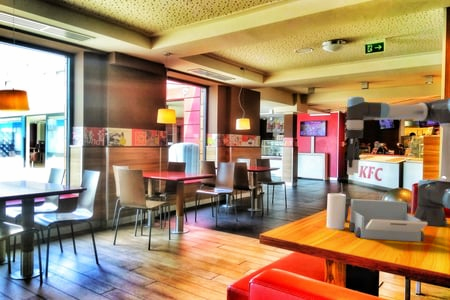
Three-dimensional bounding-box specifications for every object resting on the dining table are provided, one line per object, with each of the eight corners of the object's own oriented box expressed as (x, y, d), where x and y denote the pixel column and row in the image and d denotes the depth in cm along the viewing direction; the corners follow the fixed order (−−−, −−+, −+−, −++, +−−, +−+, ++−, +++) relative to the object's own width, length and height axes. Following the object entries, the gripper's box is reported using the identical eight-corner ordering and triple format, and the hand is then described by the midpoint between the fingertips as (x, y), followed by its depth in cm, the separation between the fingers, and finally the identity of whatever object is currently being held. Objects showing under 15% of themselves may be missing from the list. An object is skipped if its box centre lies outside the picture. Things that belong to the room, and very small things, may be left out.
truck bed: (406, 230, 155) (407, 201, 155) (424, 241, 137) (425, 208, 137) (346, 227, 158) (347, 198, 158) (357, 237, 140) (358, 205, 140)
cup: (342, 225, 162) (343, 193, 161) (346, 230, 154) (347, 196, 153) (325, 224, 162) (326, 192, 162) (328, 229, 154) (329, 195, 154)
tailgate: (417, 230, 137) (426, 221, 130) (418, 232, 136) (427, 224, 129) (365, 227, 140) (371, 218, 132) (365, 229, 139) (372, 221, 132)
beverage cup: (351, 222, 169) (352, 184, 168) (336, 221, 170) (337, 183, 170) (348, 219, 176) (349, 182, 176) (334, 218, 177) (335, 181, 177)
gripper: (350, 131, 170) (349, 171, 170) (341, 128, 148) (339, 174, 148) (366, 131, 166) (364, 172, 166) (358, 128, 144) (357, 176, 145)
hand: (352, 173), depth 157 cm, fingers open, 13 cm apart
